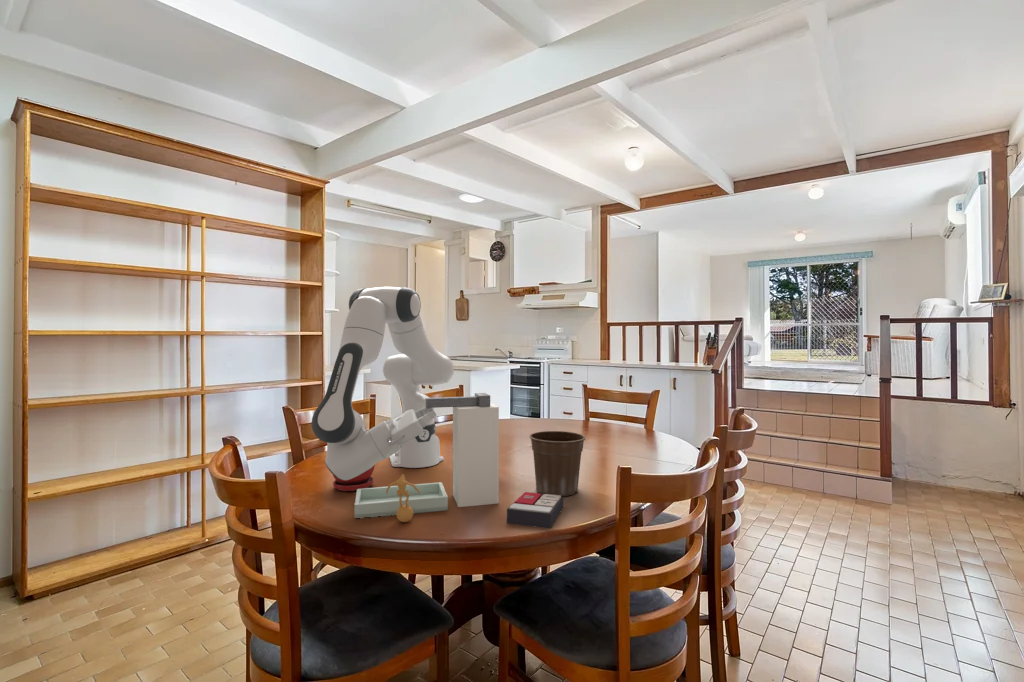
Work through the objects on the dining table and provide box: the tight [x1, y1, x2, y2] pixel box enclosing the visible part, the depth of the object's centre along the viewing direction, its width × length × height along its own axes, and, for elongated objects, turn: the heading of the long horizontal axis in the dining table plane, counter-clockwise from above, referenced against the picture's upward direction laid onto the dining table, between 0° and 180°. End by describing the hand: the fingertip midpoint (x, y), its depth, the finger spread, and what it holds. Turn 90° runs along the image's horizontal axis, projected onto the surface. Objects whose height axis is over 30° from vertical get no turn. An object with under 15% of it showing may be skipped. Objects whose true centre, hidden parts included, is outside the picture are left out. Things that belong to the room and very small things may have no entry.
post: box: [452, 401, 500, 508], centre depth 132 cm, size 10×11×26 cm
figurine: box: [386, 474, 420, 523], centre depth 115 cm, size 8×6×12 cm
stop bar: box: [426, 392, 491, 409], centre depth 131 cm, size 7×17×3 cm, turn 105°
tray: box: [354, 481, 449, 519], centre depth 127 cm, size 13×23×4 cm, turn 105°
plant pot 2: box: [529, 430, 586, 497], centre depth 140 cm, size 16×16×16 cm
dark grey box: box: [506, 491, 564, 529], centre depth 121 cm, size 11×4×15 cm
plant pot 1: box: [332, 464, 376, 492], centre depth 144 cm, size 13×13×12 cm
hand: (433, 409), depth 129 cm, fingers open, 8 cm apart
